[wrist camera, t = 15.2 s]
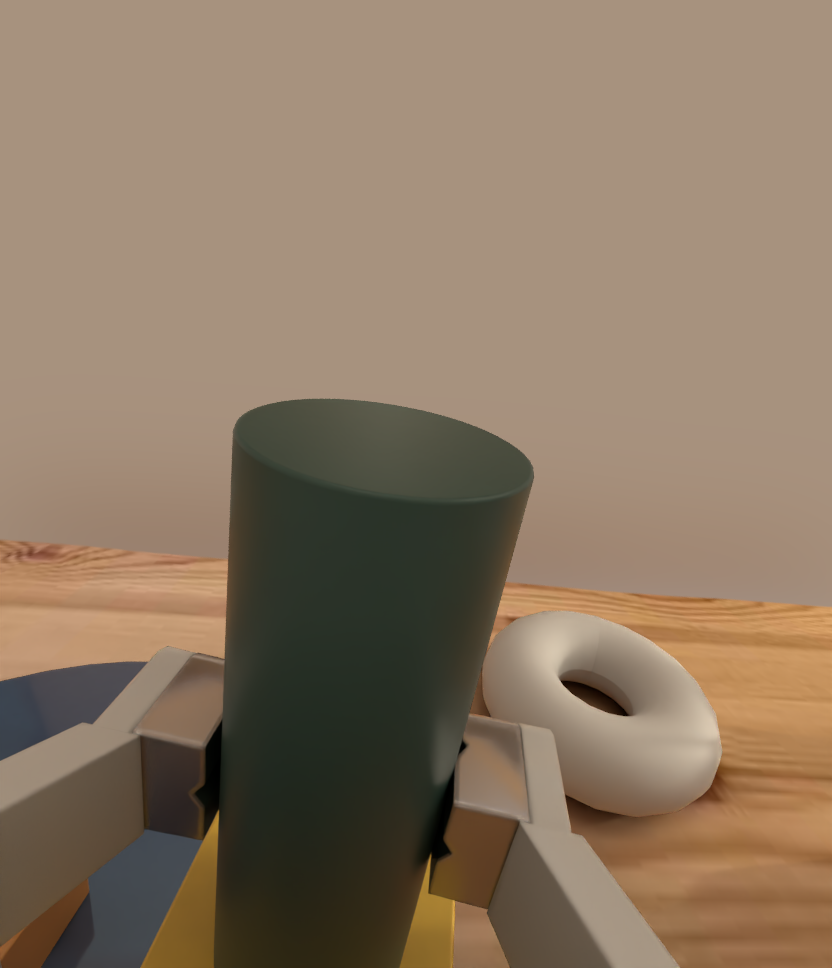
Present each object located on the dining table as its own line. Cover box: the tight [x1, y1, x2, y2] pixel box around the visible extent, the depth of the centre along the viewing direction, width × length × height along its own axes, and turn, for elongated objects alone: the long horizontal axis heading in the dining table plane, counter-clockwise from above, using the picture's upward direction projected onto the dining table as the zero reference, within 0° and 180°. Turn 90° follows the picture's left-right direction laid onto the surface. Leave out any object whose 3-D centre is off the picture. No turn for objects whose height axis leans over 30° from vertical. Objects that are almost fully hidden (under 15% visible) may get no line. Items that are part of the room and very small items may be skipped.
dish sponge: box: [140, 399, 534, 968], centre depth 8 cm, size 7×5×12 cm
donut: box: [482, 611, 722, 817], centre depth 22 cm, size 10×4×10 cm
